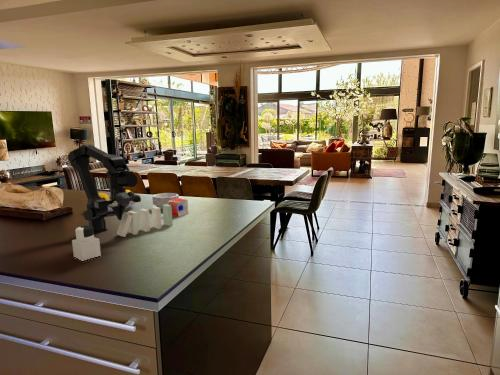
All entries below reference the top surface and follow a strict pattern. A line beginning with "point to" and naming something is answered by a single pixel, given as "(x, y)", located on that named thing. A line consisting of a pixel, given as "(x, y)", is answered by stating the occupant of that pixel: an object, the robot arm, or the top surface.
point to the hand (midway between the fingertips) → (119, 220)
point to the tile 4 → (156, 217)
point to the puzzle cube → (178, 206)
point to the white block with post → (85, 243)
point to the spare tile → (167, 215)
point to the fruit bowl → (115, 201)
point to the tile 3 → (144, 220)
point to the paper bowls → (163, 199)
